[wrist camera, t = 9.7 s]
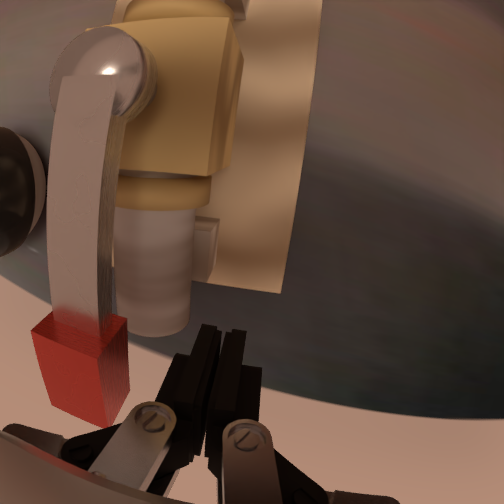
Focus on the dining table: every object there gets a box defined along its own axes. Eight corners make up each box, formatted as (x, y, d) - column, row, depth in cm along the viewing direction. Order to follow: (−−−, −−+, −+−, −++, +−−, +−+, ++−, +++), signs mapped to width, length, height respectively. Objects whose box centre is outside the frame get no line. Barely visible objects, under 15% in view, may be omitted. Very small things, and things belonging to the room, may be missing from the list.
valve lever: (88, 42, 7) (43, 23, 5) (167, 40, 7) (134, 10, 5) (75, 369, 12) (49, 404, 9) (131, 391, 12) (111, 431, 9)
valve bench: (132, -15, 15) (55, -81, 4) (321, -13, 14) (353, -110, 4) (101, 255, 22) (10, 327, 12) (280, 283, 22) (283, 396, 12)
